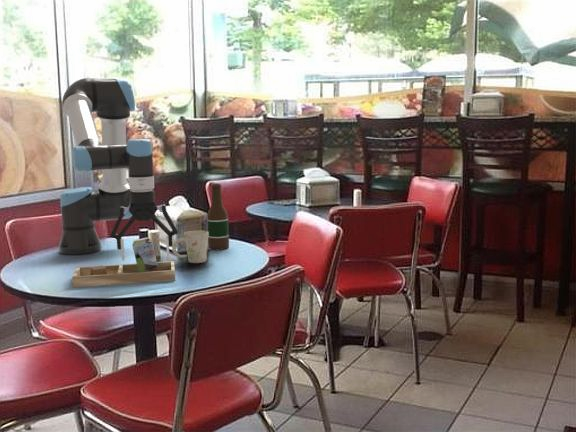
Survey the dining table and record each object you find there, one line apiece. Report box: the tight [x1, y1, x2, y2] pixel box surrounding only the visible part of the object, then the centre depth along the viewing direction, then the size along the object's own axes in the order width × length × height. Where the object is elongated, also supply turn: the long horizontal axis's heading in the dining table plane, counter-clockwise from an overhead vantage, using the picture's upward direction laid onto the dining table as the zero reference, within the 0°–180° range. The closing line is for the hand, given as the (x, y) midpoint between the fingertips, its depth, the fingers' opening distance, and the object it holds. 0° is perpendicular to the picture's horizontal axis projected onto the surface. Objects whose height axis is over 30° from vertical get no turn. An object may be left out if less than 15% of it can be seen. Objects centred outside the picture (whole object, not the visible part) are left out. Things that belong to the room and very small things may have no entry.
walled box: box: [71, 260, 176, 288], centre depth 219 cm, size 13×30×4 cm, turn 100°
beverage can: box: [132, 237, 159, 272], centre depth 219 cm, size 6×7×12 cm
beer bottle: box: [206, 183, 230, 251], centre depth 263 cm, size 8×8×24 cm
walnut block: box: [90, 265, 107, 275], centre depth 217 cm, size 4×4×4 cm
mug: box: [171, 229, 209, 264], centre depth 242 cm, size 8×13×10 cm, turn 107°
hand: (145, 258), depth 219 cm, fingers open, 13 cm apart
